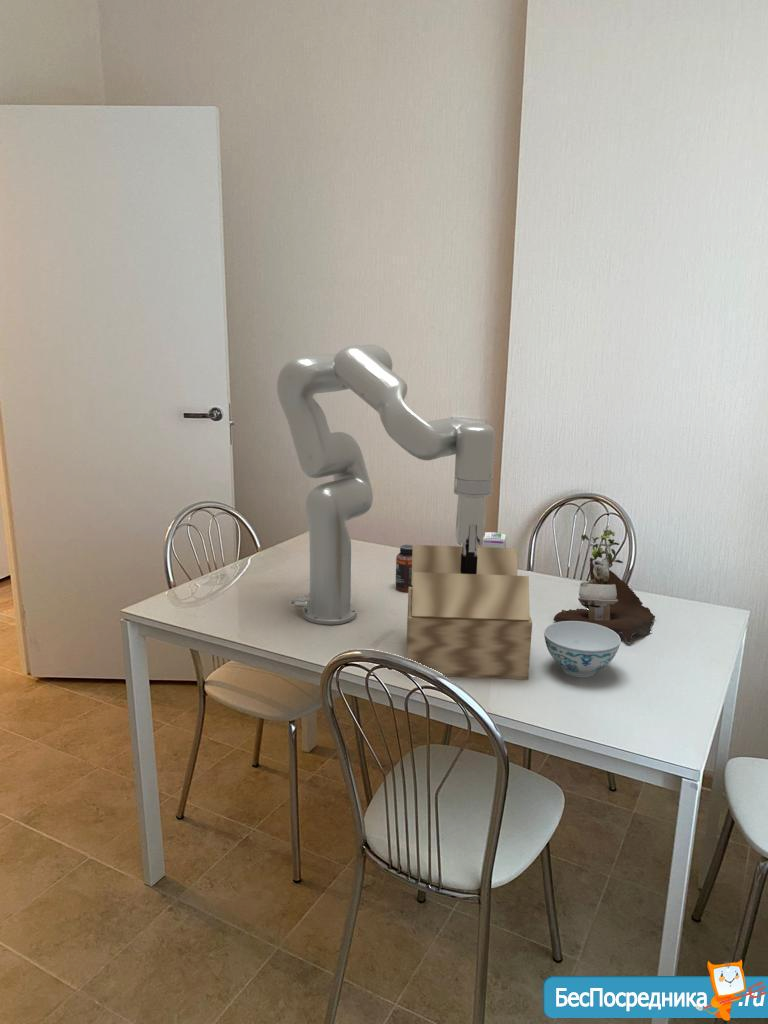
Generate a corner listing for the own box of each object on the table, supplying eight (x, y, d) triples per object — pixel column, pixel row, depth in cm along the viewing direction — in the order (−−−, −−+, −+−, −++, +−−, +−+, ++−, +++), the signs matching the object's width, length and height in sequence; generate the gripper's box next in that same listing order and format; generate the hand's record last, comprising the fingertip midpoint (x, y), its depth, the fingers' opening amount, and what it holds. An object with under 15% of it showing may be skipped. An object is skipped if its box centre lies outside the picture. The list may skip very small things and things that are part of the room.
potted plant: (550, 635, 192) (554, 527, 193) (585, 631, 206) (588, 531, 208) (634, 643, 179) (637, 528, 181) (664, 639, 194) (667, 533, 196)
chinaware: (570, 692, 158) (573, 655, 156) (527, 661, 172) (529, 626, 170) (632, 680, 164) (636, 644, 162) (586, 650, 178) (589, 617, 176)
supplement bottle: (422, 587, 213) (424, 545, 210) (411, 594, 208) (412, 551, 205) (402, 583, 216) (404, 541, 213) (390, 589, 211) (392, 547, 208)
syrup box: (502, 593, 210) (506, 539, 207) (479, 591, 212) (482, 537, 208) (504, 586, 216) (507, 533, 212) (481, 584, 217) (484, 531, 213)
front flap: (411, 616, 161) (411, 615, 160) (412, 572, 164) (413, 572, 163) (529, 620, 160) (529, 619, 160) (528, 576, 163) (528, 576, 163)
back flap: (412, 544, 180) (412, 545, 180) (411, 585, 178) (411, 585, 179) (517, 548, 180) (517, 548, 180) (517, 588, 178) (517, 589, 178)
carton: (406, 674, 164) (408, 618, 161) (406, 638, 181) (408, 586, 178) (527, 679, 163) (532, 622, 160) (516, 642, 181) (520, 590, 178)
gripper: (452, 477, 172) (448, 561, 177) (456, 494, 157) (451, 585, 162) (488, 478, 172) (483, 562, 176) (495, 495, 157) (490, 586, 162)
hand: (468, 573), depth 169 cm, fingers closed
